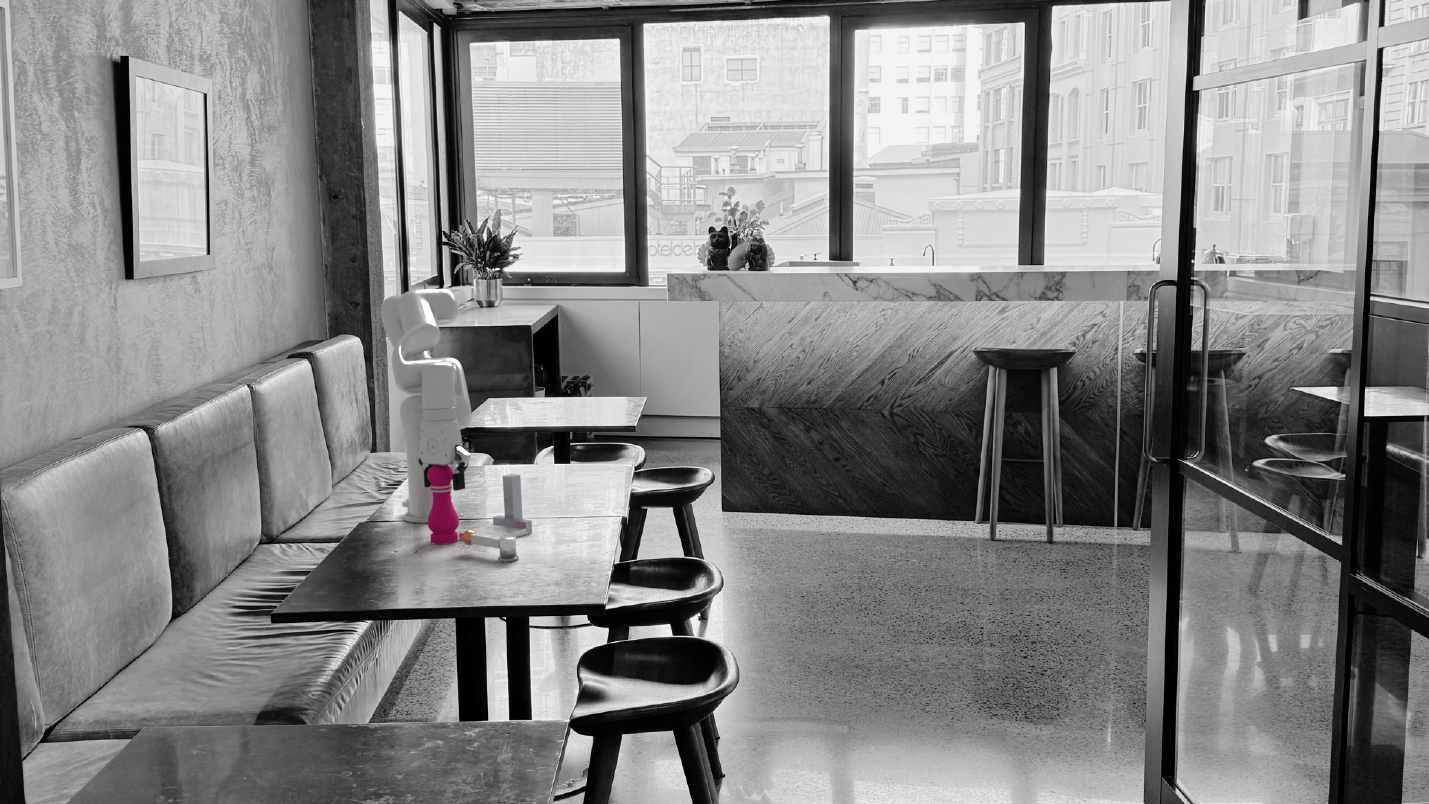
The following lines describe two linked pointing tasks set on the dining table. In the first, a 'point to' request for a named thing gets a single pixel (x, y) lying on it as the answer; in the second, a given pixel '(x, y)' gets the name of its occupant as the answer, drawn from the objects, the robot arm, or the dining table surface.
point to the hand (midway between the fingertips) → (444, 488)
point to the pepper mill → (442, 506)
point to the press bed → (508, 515)
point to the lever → (492, 542)
